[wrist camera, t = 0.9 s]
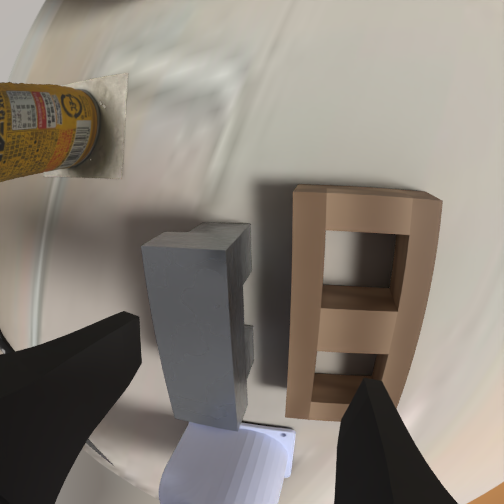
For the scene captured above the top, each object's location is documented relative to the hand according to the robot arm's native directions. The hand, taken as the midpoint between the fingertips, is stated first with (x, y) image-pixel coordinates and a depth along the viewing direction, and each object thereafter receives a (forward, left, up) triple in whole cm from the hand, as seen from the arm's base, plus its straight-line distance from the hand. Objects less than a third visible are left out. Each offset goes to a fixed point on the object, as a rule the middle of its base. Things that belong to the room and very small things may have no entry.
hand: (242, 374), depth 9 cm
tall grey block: (-4, -3, -11) cm, 12 cm away
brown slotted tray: (+4, -3, -11) cm, 12 cm away
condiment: (-15, +9, -11) cm, 20 cm away
